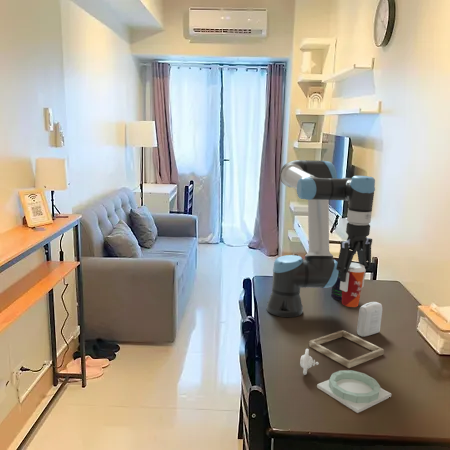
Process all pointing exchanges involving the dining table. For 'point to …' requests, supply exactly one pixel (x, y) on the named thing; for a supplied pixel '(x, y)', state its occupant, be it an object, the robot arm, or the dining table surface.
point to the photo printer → (369, 319)
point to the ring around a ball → (307, 362)
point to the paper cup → (354, 285)
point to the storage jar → (337, 289)
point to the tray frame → (348, 363)
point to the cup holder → (354, 389)
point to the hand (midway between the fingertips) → (351, 288)
